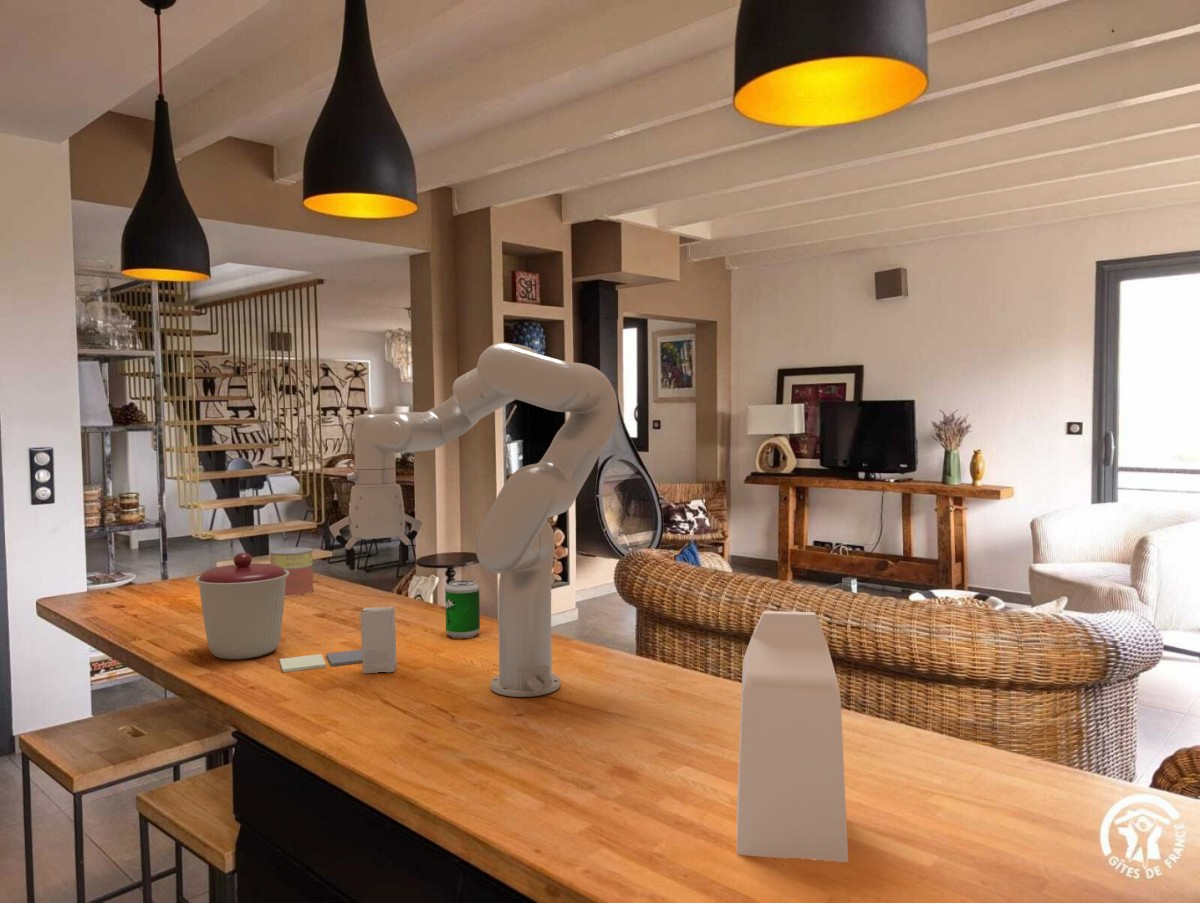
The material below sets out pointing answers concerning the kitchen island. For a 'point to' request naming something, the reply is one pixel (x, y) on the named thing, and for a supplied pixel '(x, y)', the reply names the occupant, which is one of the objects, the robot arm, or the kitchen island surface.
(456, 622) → the soda can
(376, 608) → the skincare box
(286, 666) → the sage pad
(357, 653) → the slate pad
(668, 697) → the kitchen island surface
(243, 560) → the canister
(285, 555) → the canned food
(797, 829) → the milk
